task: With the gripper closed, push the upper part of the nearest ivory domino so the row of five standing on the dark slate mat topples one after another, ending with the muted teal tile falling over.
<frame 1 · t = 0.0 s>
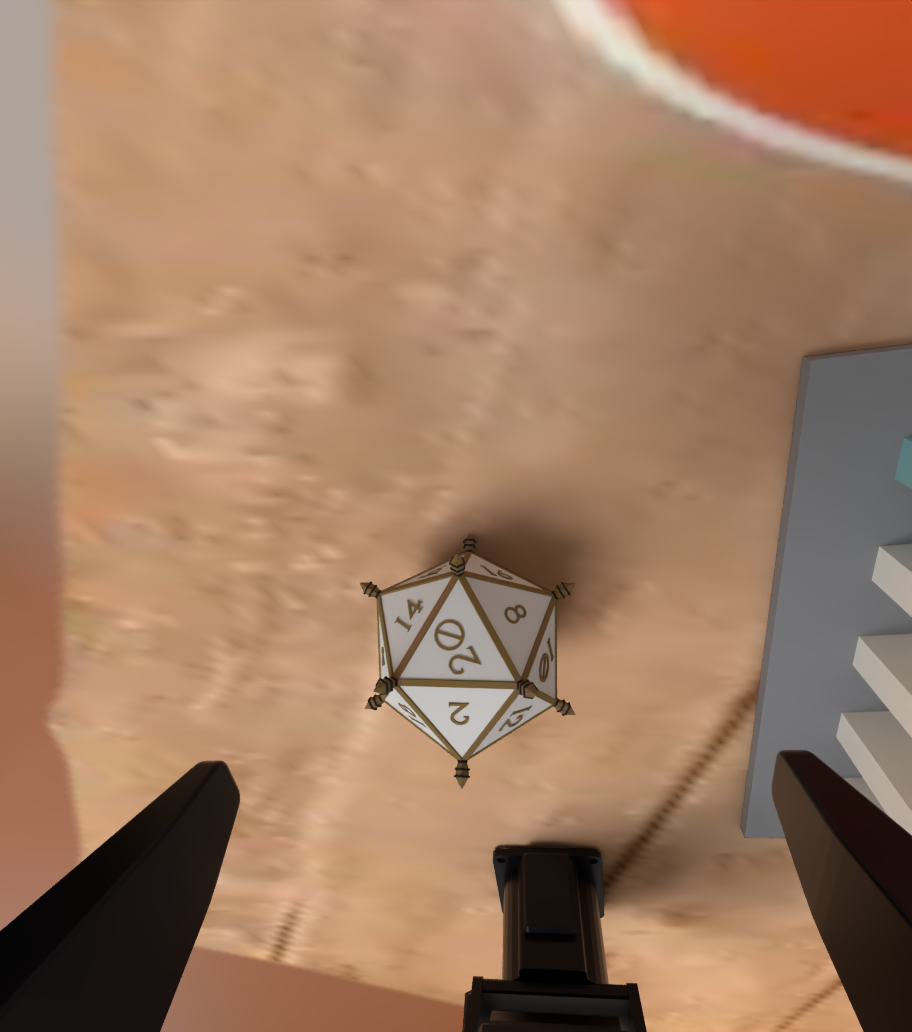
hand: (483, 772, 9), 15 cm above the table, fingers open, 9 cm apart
domino 2: (897, 723, 25), point 1 cm above the table, touching slate mat
game die: (473, 588, 25), on the table
slate mat: (909, 638, 24), on the table
domino 1: (878, 788, 27), point 1 cm above the table, touching slate mat
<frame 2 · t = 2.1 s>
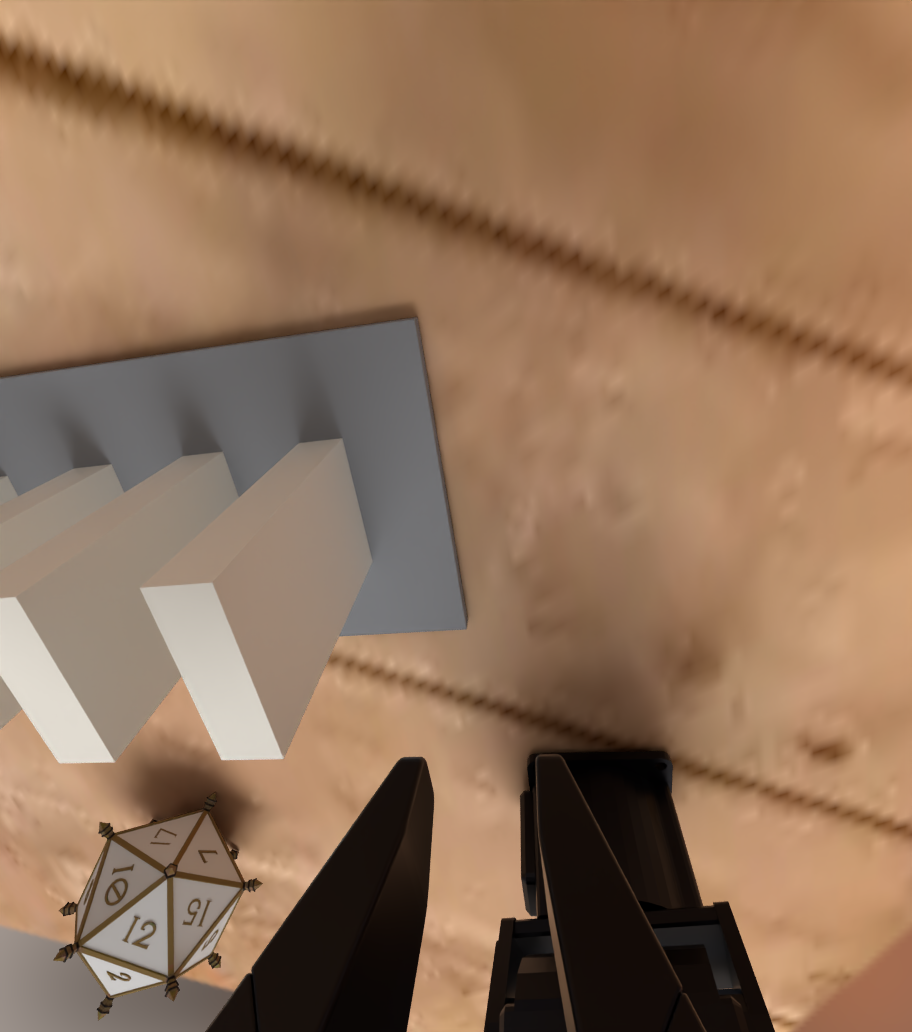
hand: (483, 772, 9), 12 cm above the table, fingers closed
domino 2: (225, 515, 20), point 1 cm above the table, touching slate mat
domino 4: (21, 534, 22), point 1 cm above the table, touching slate mat
game die: (204, 818, 31), on the table
slate mat: (129, 518, 22), on the table
domino 1: (337, 505, 20), point 1 cm above the table, touching slate mat
domino 3: (120, 525, 21), point 1 cm above the table, touching slate mat
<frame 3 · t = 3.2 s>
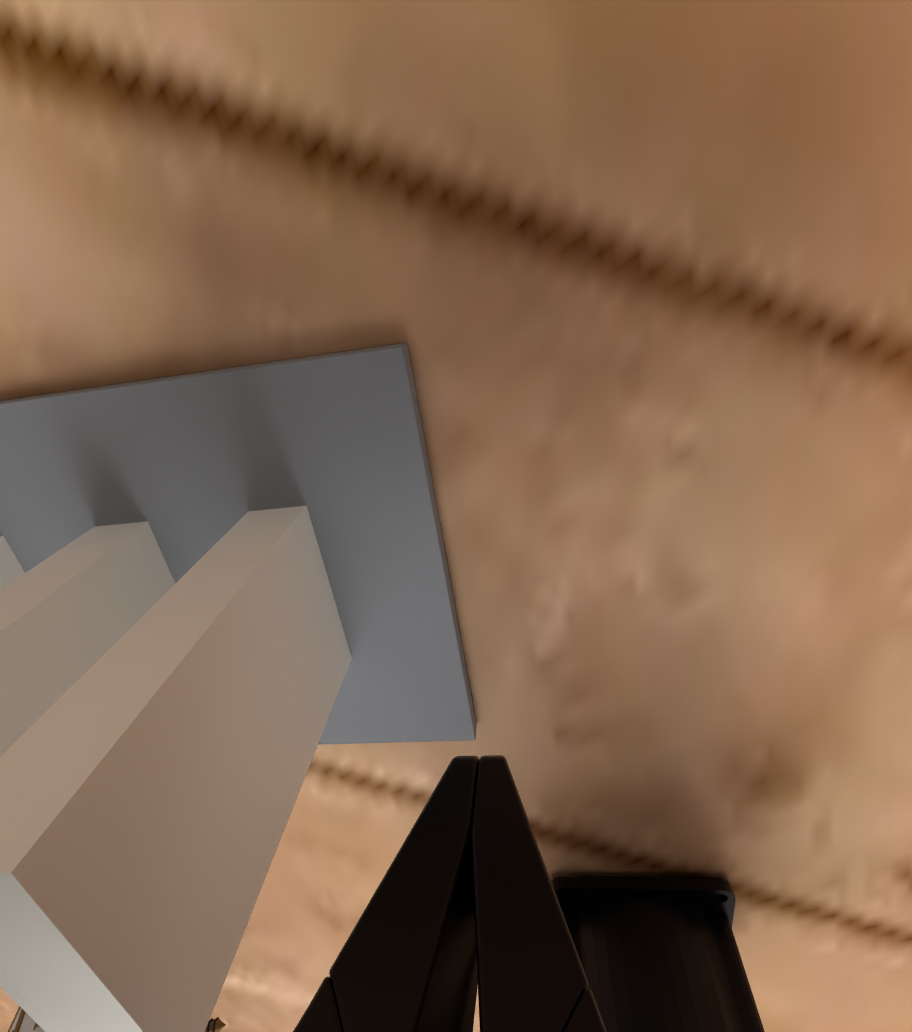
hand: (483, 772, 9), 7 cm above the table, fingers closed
domino 2: (156, 600, 16), point 1 cm above the table, touching slate mat
game die: (161, 928, 26), on the table
slate mat: (38, 598, 17), on the table
domino 1: (303, 589, 15), point 1 cm above the table, touching slate mat
domino 3: (22, 610, 16), point 1 cm above the table, touching slate mat
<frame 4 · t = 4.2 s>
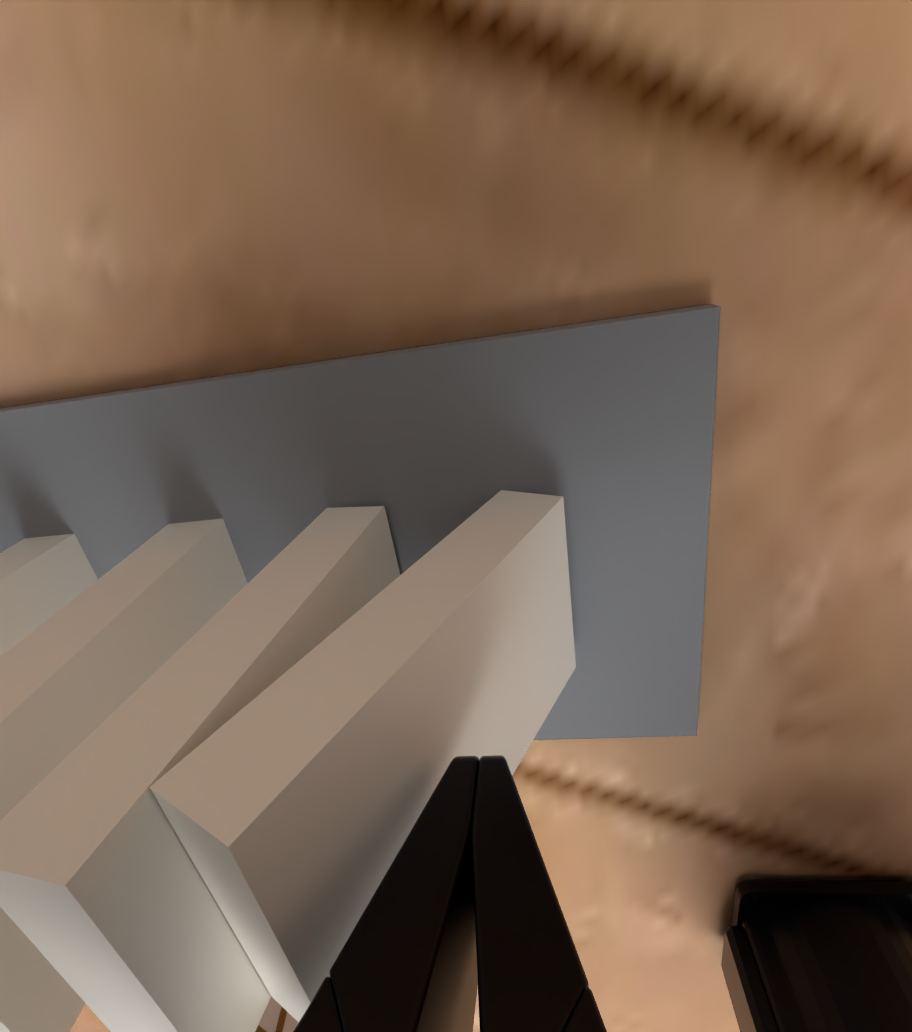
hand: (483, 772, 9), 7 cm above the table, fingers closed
domino 2: (376, 589, 15), point 1 cm above the table, tilted 9°, touching slate mat
domino 4: (88, 609, 16), point 1 cm above the table, touching slate mat
game die: (293, 933, 25), on the table
slate mat: (236, 586, 16), on the table
domino 1: (540, 582, 14), point 1 cm above the table, tilted 27°, touching slate mat
domino 3: (226, 598, 15), point 1 cm above the table, touching slate mat
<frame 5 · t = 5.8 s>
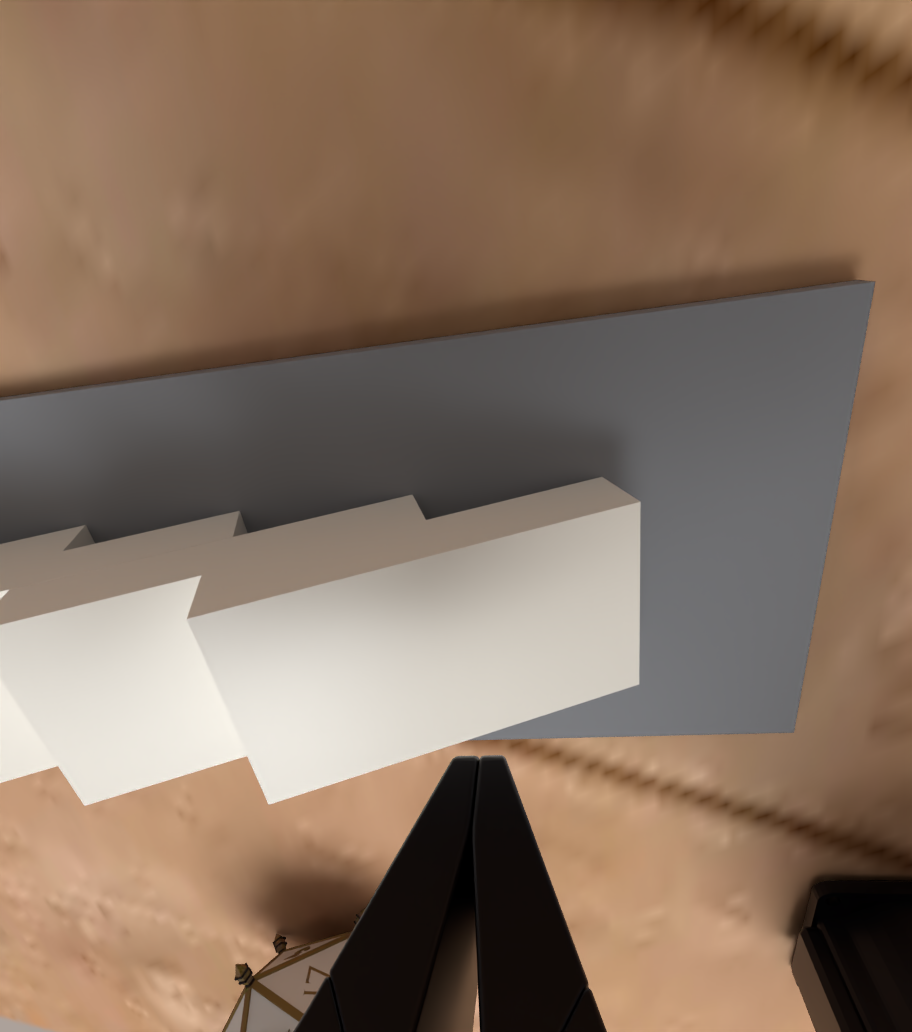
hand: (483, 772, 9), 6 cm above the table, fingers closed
domino 2: (435, 595, 14), point 1 cm above the table, tilted 69°, touching domino 1, domino 3, slate mat
domino 4: (115, 615, 15), point 1 cm above the table, tilted 69°, touching domino 3, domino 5, slate mat
game die: (342, 933, 24), on the table
slate mat: (319, 576, 15), on the table
domino 1: (621, 583, 13), point 1 cm above the table, tilted 69°, touching domino 2, slate mat
domino 3: (266, 606, 14), point 1 cm above the table, tilted 69°, touching domino 2, domino 4
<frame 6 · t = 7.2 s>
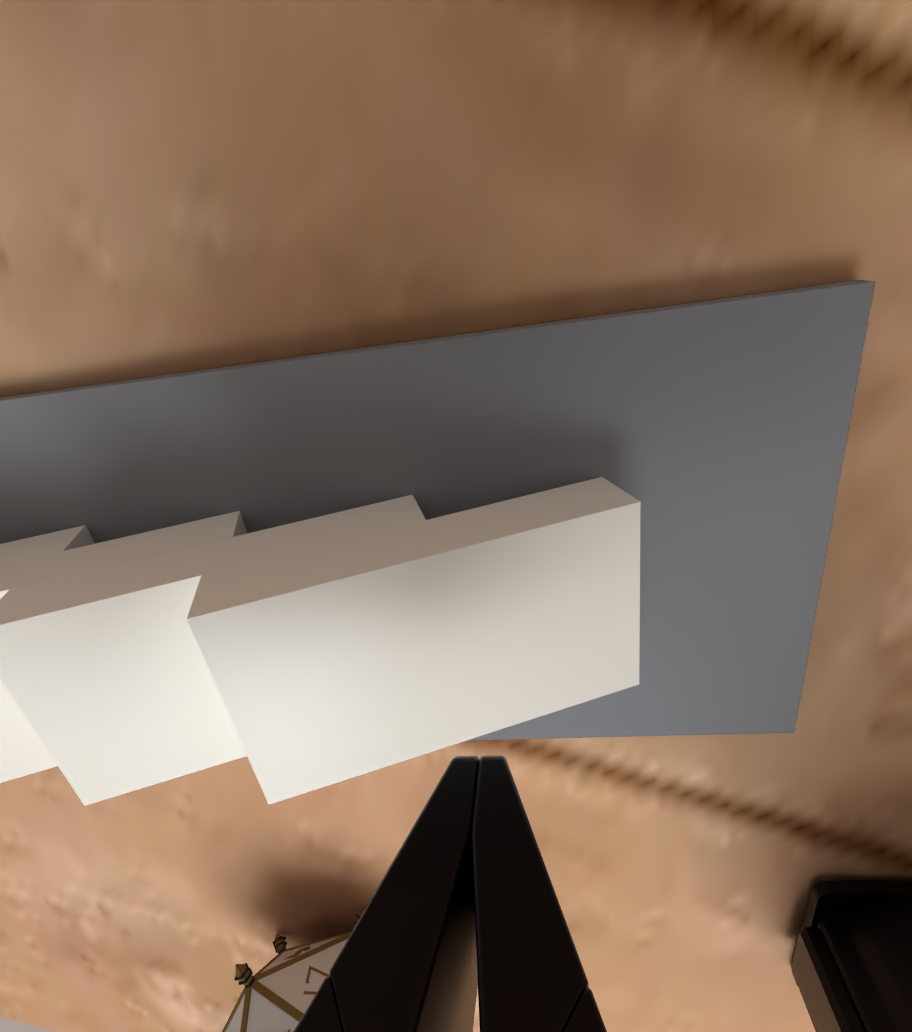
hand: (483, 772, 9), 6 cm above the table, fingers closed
domino 2: (435, 595, 14), point 1 cm above the table, tilted 69°, touching domino 1, domino 3, slate mat
domino 4: (115, 615, 15), point 1 cm above the table, tilted 69°, touching domino 3, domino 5, slate mat
game die: (342, 933, 24), on the table
slate mat: (319, 576, 15), on the table
domino 1: (621, 583, 13), point 1 cm above the table, tilted 69°, touching domino 2, slate mat
domino 3: (266, 606, 14), point 1 cm above the table, tilted 69°, touching domino 2, domino 4
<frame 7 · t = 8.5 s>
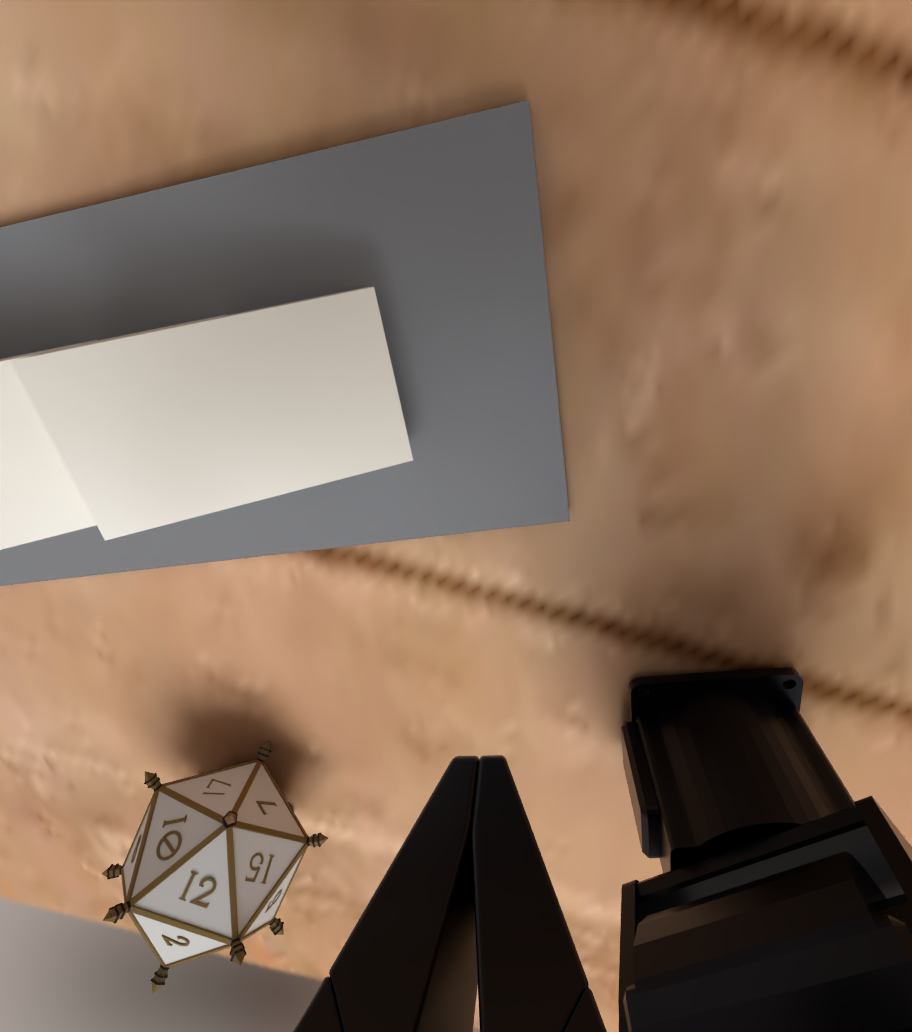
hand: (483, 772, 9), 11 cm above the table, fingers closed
domino 2: (252, 398, 17), point 1 cm above the table, tilted 69°, touching domino 1, domino 3, slate mat
game die: (255, 773, 28), on the table
slate mat: (174, 404, 19), on the table
domino 1: (390, 375, 16), point 1 cm above the table, tilted 69°, touching domino 2, slate mat
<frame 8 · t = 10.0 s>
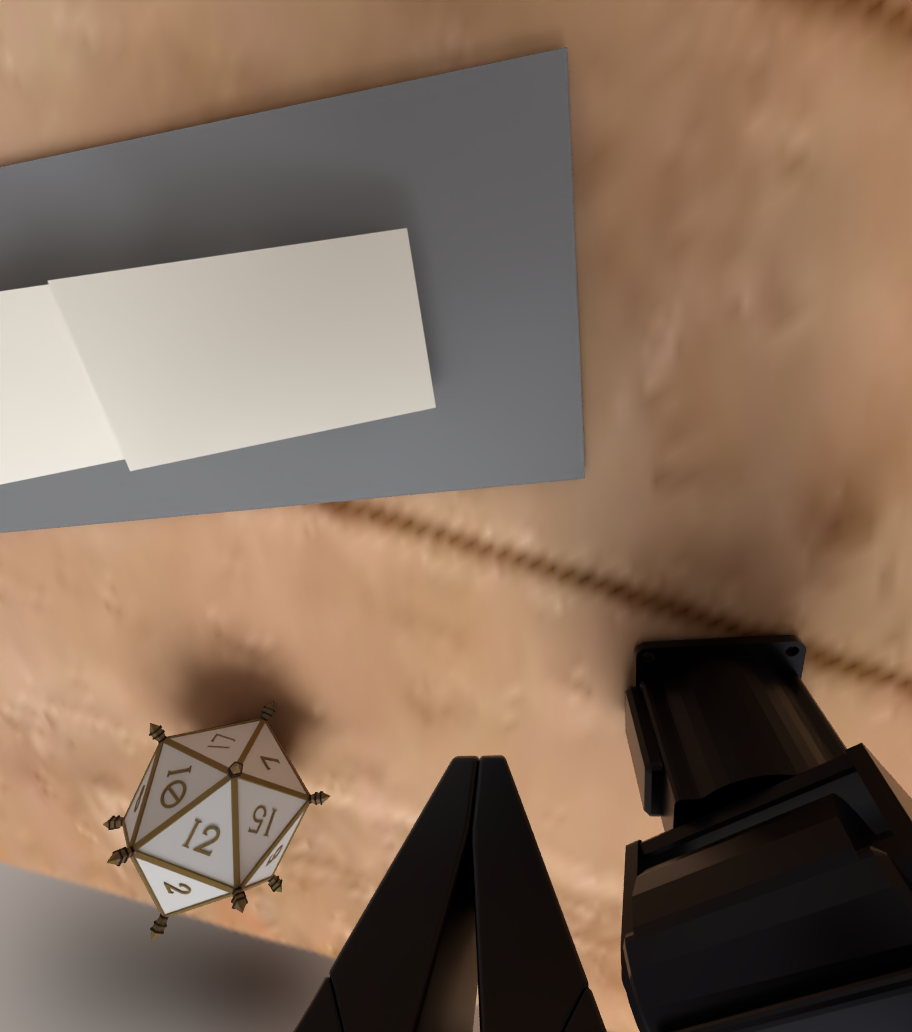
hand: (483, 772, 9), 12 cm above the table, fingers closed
domino 2: (278, 341, 17), point 1 cm above the table, tilted 69°, touching domino 1, domino 3, slate mat
game die: (257, 734, 28), on the table
slate mat: (197, 349, 19), on the table
domino 1: (417, 322, 16), point 1 cm above the table, tilted 69°, touching domino 2, slate mat
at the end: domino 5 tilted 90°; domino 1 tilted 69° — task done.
